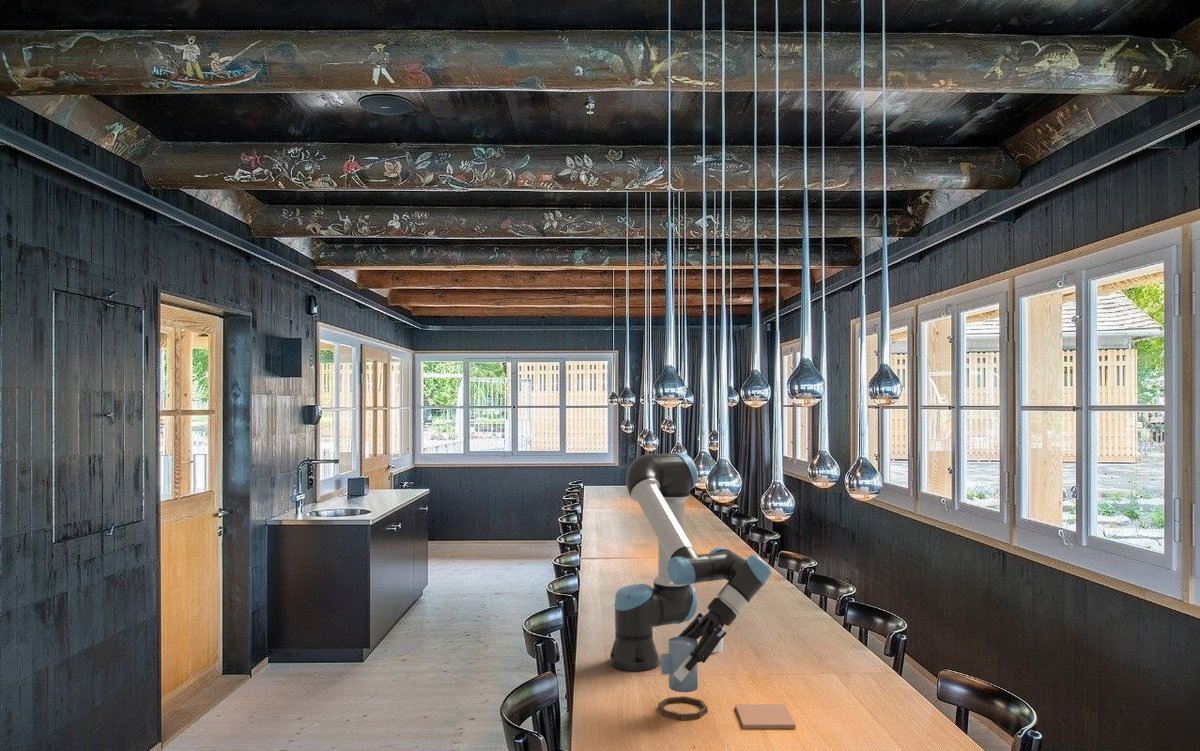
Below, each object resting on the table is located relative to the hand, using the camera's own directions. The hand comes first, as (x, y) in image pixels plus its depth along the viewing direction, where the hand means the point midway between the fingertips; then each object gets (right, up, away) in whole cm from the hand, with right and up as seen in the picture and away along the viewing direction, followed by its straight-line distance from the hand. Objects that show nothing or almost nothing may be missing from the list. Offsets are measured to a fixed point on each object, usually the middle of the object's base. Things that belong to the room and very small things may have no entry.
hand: (671, 672), depth 205 cm
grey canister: (+2, -4, +1) cm, 5 cm away
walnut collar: (+3, -10, +1) cm, 11 cm away
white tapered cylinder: (+18, -12, +50) cm, 55 cm away
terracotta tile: (+24, -10, -4) cm, 26 cm away
